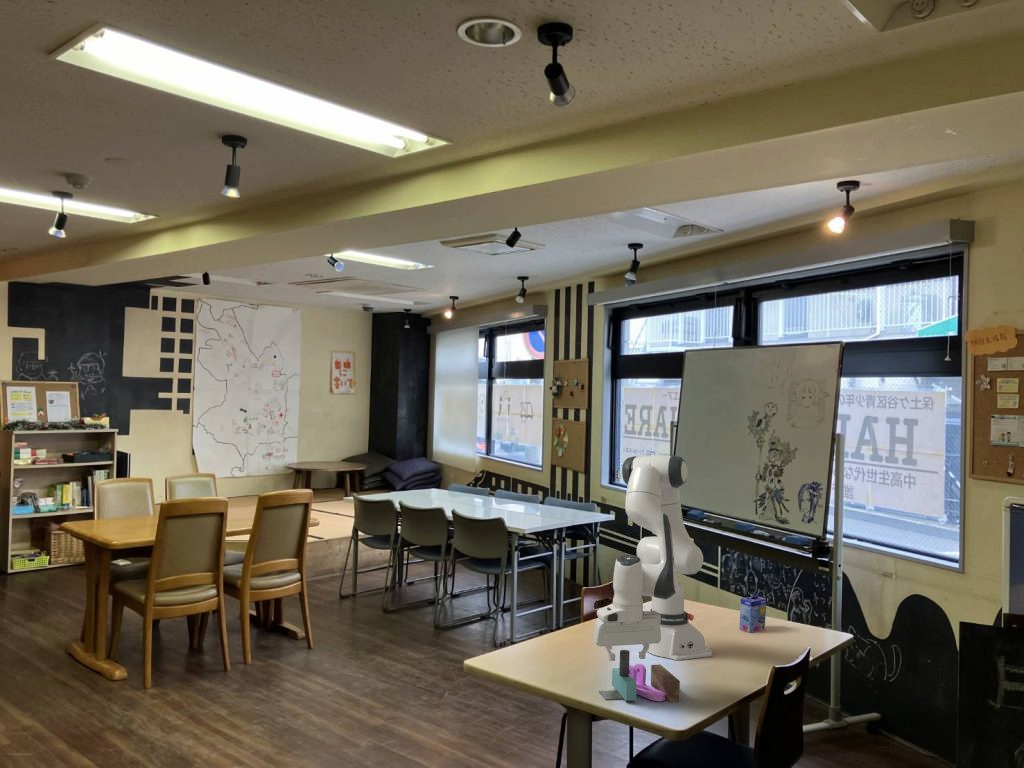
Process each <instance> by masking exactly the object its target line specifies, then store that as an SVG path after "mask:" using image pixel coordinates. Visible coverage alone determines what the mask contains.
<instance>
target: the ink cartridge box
mask: <svg viewBox="0 0 1024 768" xmlns="http://www.w3.org/2000/svg"><path fill="white" fill-rule="evenodd" d="M759 595H760V592H757V593H756V592H755V593H753V594H752V596H748V597H747V596H746V597H742V598H740V606H739V607H740V609H739V630H741V631H743V632H746V633H749V634H752V633H756V632H760V631H764V630H765V629H766V614H767V598H764V597H762V596H759Z"/></svg>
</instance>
